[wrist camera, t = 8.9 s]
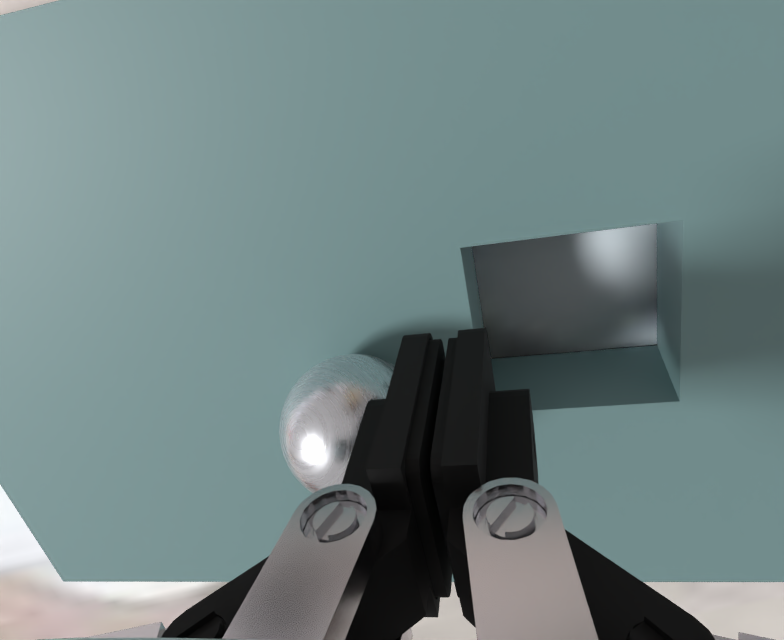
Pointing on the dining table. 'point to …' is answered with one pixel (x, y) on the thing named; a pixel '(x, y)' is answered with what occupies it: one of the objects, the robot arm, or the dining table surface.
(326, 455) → the ball
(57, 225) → the grey-green flat board
